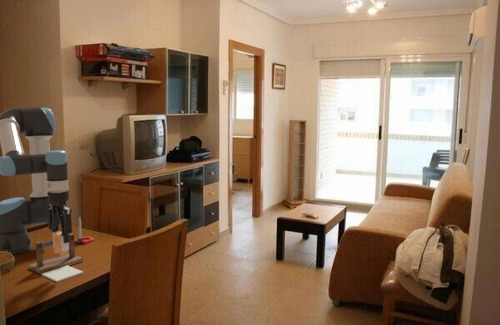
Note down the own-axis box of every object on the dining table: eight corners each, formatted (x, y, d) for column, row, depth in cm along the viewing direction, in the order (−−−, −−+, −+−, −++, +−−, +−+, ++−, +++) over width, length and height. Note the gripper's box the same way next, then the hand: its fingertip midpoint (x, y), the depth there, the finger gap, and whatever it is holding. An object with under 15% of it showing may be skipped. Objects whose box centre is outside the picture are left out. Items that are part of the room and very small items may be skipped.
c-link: (54, 253, 169) (53, 233, 168) (61, 251, 172) (60, 231, 171) (61, 255, 166) (60, 235, 165) (68, 253, 169) (67, 233, 168)
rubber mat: (41, 275, 169) (41, 273, 169) (67, 266, 178) (67, 265, 178) (56, 282, 163) (56, 280, 163) (83, 273, 172) (83, 271, 171)
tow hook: (81, 238, 216) (70, 243, 207) (80, 213, 215) (70, 217, 206) (96, 239, 215) (87, 244, 206) (96, 214, 214) (86, 218, 205)
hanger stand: (29, 268, 176) (27, 241, 174) (70, 256, 190) (68, 230, 188) (42, 274, 170) (40, 246, 168) (83, 261, 184) (82, 235, 183)
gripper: (36, 189, 168) (39, 247, 171) (61, 195, 157) (65, 256, 160) (54, 186, 174) (57, 242, 177) (80, 192, 163) (83, 251, 166)
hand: (61, 249), depth 169 cm, fingers closed on c-link, 5 cm apart
